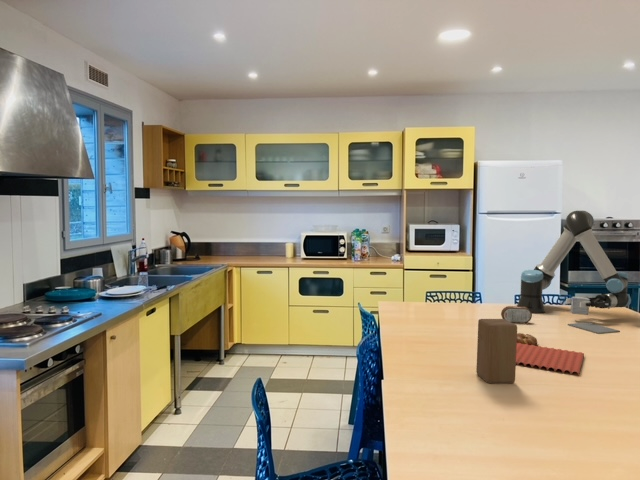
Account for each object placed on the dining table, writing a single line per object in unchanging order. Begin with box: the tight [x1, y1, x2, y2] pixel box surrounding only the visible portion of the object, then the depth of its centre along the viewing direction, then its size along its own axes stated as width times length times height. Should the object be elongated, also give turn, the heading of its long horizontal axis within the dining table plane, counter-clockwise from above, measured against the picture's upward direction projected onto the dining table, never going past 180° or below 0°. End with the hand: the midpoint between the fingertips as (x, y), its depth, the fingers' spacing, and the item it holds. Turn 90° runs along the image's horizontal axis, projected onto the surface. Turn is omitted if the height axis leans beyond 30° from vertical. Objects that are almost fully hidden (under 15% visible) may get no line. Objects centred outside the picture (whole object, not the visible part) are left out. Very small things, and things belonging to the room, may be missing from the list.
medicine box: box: [570, 296, 590, 316], centre depth 253 cm, size 8×4×9 cm, turn 71°
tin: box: [500, 305, 533, 324], centre depth 249 cm, size 15×3×8 cm, turn 84°
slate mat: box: [567, 321, 621, 334], centre depth 239 cm, size 18×14×1 cm
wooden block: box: [475, 318, 518, 384], centre depth 163 cm, size 10×10×20 cm
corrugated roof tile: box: [516, 343, 585, 377], centre depth 187 cm, size 28×28×2 cm
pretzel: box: [517, 332, 538, 346], centre depth 210 cm, size 12×11×4 cm
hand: (573, 302), depth 251 cm, fingers closed on medicine box, 8 cm apart
